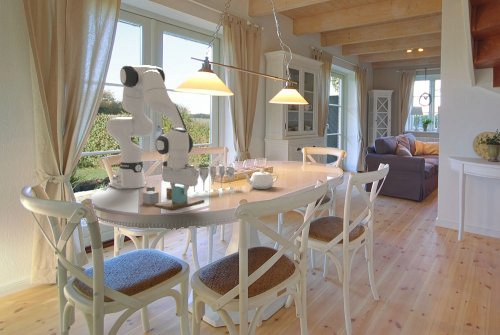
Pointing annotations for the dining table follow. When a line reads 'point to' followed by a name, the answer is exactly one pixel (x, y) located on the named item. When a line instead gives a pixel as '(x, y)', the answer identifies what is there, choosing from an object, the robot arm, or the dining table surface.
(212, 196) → the dining table surface
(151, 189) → the charcoal cylinder
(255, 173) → the teapot
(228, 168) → the goblet set
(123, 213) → the dining table surface
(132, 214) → the dining table surface
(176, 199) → the teal block
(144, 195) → the grey block
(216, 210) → the dining table surface
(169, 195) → the oak block
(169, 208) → the walnut board
